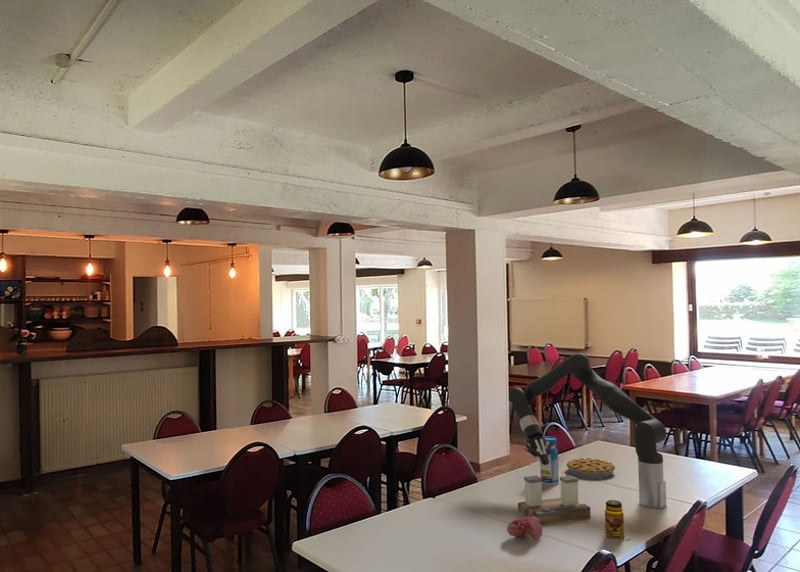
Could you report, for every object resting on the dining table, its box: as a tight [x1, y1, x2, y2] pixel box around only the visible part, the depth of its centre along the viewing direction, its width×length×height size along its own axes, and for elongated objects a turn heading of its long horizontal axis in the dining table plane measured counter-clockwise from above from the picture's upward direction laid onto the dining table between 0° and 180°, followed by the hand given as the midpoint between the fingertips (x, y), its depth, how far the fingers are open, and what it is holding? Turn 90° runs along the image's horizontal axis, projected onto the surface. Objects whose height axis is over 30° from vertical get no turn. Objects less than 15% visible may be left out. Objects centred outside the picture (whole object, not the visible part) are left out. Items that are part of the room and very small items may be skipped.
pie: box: [566, 457, 616, 480], centre depth 275 cm, size 22×22×5 cm
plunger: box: [523, 475, 543, 507], centre depth 224 cm, size 4×5×10 cm
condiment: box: [597, 499, 631, 543], centre depth 201 cm, size 7×8×12 cm
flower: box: [506, 516, 543, 547], centre depth 199 cm, size 11×10×10 cm
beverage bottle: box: [539, 436, 560, 486], centre depth 262 cm, size 8×8×20 cm
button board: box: [517, 496, 591, 526], centre depth 223 cm, size 16×22×5 cm
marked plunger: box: [559, 475, 579, 506], centre depth 223 cm, size 4×5×10 cm
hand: (546, 464), depth 239 cm, fingers closed
